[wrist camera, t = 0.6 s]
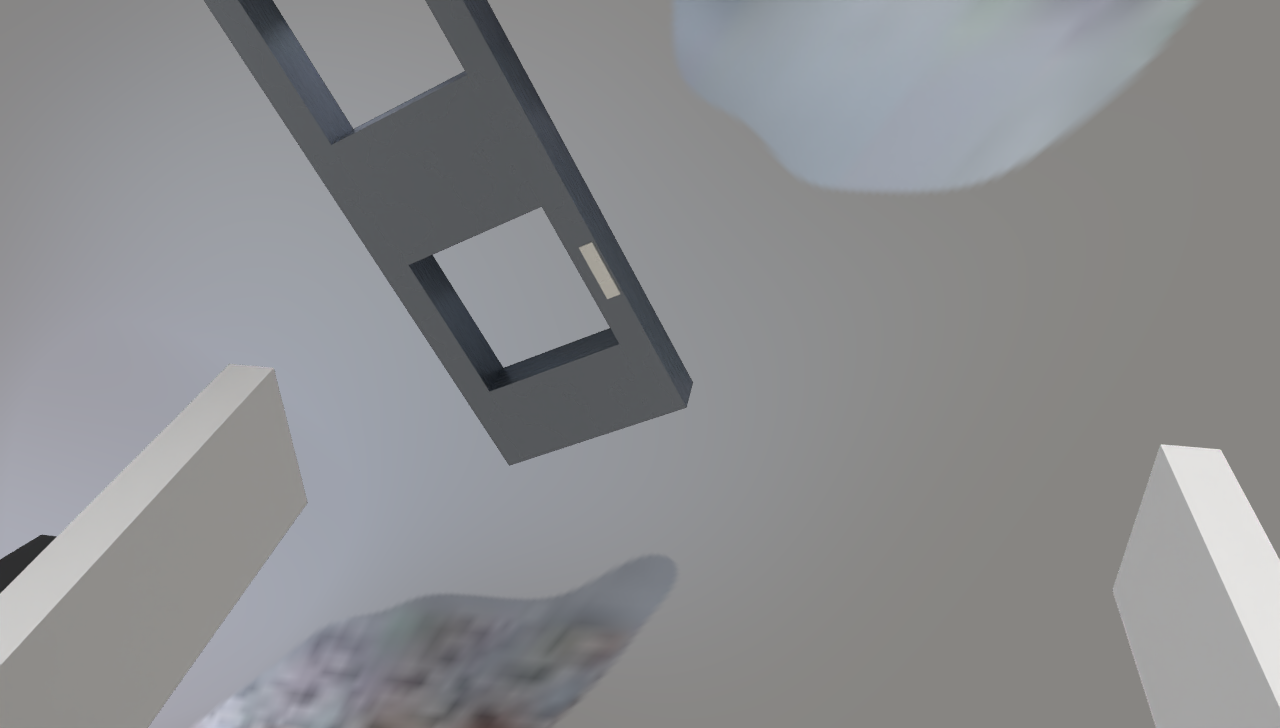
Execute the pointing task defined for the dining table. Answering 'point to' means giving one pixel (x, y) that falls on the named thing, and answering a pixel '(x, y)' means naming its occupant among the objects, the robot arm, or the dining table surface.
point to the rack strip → (475, 223)
